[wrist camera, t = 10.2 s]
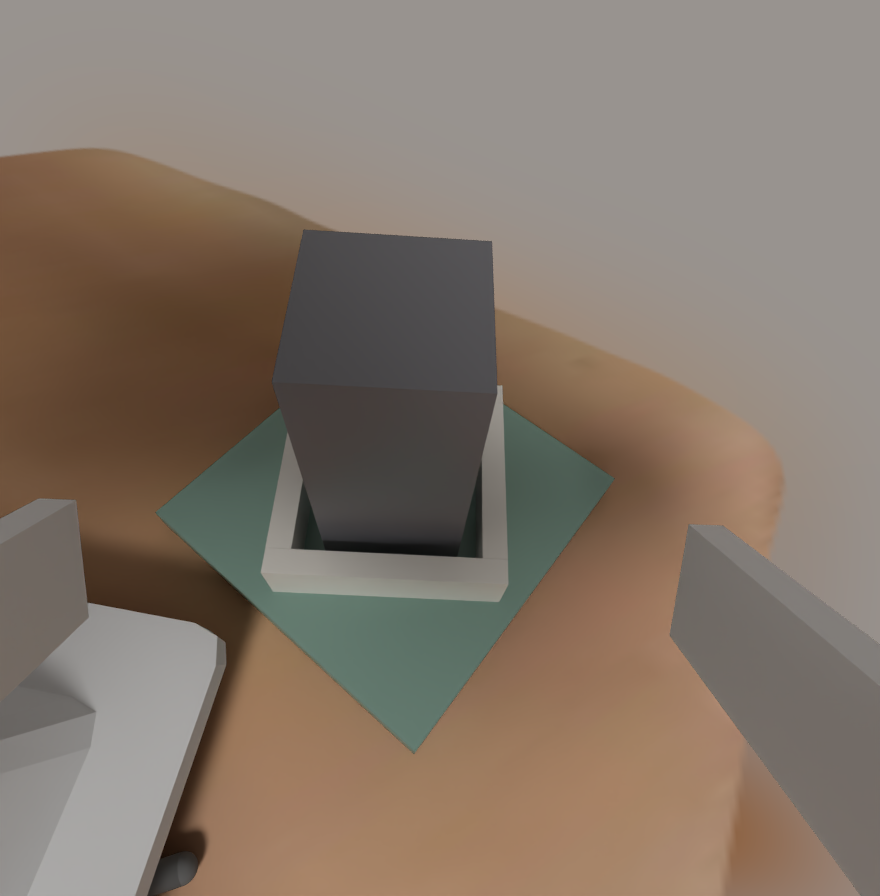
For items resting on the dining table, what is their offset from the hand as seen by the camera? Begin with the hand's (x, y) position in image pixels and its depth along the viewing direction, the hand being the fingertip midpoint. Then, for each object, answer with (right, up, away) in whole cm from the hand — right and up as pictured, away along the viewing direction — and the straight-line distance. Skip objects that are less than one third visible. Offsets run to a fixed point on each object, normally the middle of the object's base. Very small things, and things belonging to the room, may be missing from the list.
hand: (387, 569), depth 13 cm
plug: (0, +1, +9) cm, 9 cm away
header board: (-1, 0, +10) cm, 10 cm away
